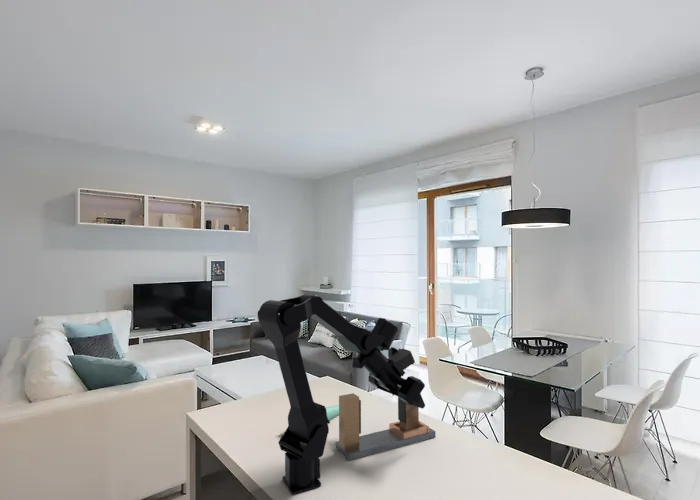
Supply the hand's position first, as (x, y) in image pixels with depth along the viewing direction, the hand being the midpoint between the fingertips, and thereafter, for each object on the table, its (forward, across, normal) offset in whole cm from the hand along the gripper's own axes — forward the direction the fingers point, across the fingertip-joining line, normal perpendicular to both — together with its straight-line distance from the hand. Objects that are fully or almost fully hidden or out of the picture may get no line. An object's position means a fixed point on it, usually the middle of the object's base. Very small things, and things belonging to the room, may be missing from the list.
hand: (413, 401), depth 104 cm
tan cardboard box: (+4, 0, +6) cm, 8 cm away
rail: (0, 0, +12) cm, 12 cm away
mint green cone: (-4, +22, +17) cm, 28 cm away
